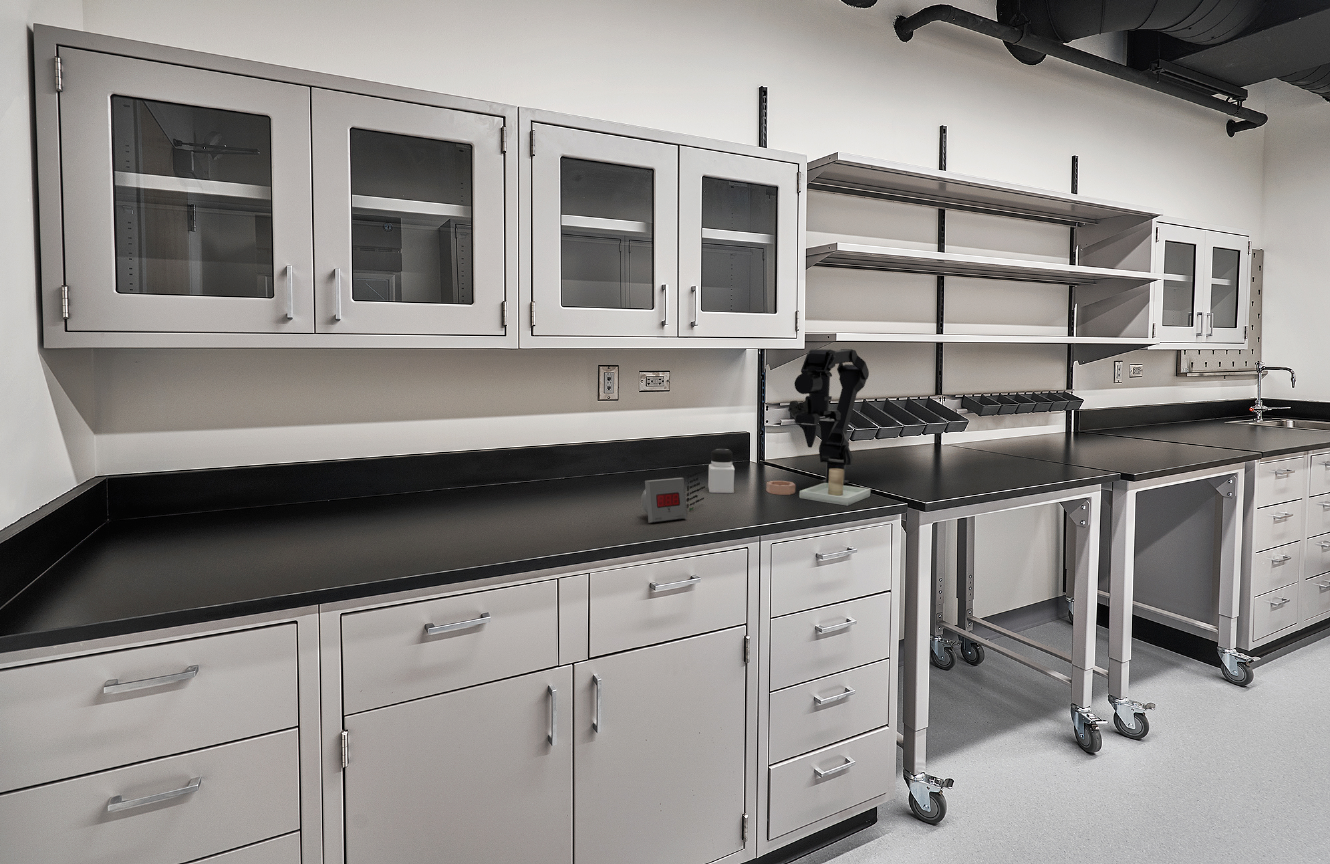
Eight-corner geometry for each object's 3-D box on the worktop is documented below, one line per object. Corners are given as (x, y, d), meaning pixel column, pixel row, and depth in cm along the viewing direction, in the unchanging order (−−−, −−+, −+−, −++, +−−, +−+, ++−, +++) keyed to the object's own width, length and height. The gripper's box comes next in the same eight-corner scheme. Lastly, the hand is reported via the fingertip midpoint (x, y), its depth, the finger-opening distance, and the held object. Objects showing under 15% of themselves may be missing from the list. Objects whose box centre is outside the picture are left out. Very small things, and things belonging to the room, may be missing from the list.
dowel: (831, 492, 198) (832, 467, 198) (845, 494, 196) (846, 469, 195) (825, 494, 195) (826, 469, 195) (838, 496, 193) (840, 471, 192)
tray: (824, 489, 206) (824, 482, 206) (870, 496, 198) (870, 489, 198) (799, 498, 194) (799, 490, 193) (847, 505, 185) (847, 498, 185)
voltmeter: (673, 527, 160) (674, 485, 159) (630, 521, 165) (630, 480, 164) (715, 505, 184) (716, 468, 183) (676, 500, 189) (677, 464, 188)
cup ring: (775, 488, 207) (775, 479, 207) (798, 491, 202) (799, 483, 202) (762, 492, 201) (762, 483, 201) (786, 495, 196) (786, 487, 196)
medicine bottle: (734, 493, 199) (735, 451, 197) (709, 492, 199) (710, 451, 197) (732, 488, 206) (733, 448, 204) (708, 487, 206) (709, 447, 204)
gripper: (808, 390, 215) (806, 440, 217) (778, 392, 200) (777, 446, 202) (842, 391, 208) (840, 443, 210) (814, 394, 193) (812, 450, 195)
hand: (816, 445), depth 204 cm, fingers open, 9 cm apart
